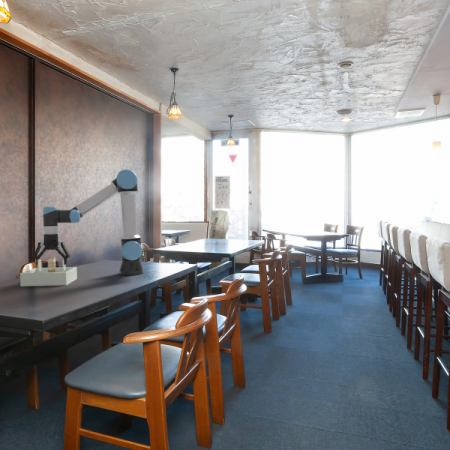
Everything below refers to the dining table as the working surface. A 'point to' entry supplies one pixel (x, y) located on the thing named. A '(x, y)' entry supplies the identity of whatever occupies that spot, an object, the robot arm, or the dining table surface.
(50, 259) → the dowel
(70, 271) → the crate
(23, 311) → the dining table surface
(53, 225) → the robot arm
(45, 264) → the mug
